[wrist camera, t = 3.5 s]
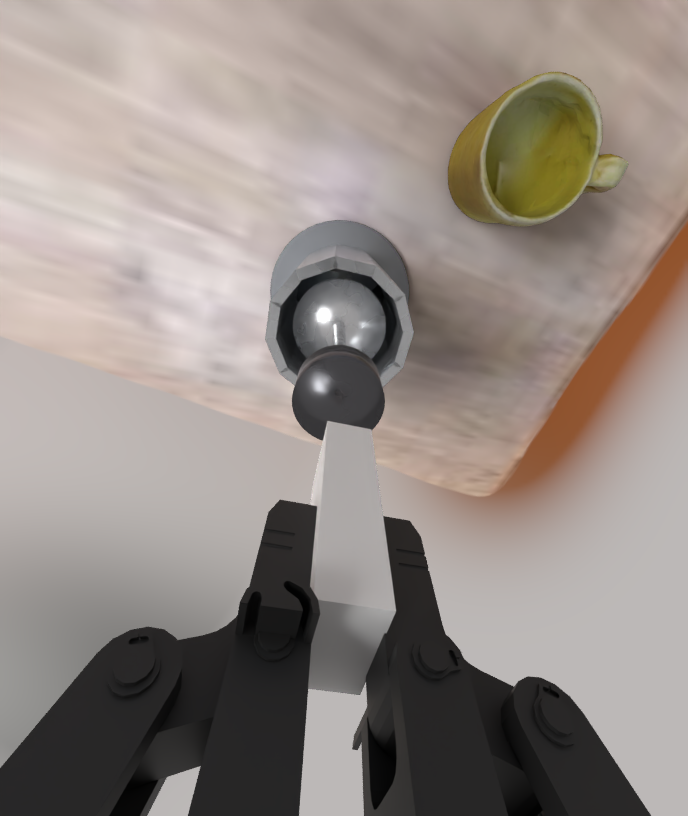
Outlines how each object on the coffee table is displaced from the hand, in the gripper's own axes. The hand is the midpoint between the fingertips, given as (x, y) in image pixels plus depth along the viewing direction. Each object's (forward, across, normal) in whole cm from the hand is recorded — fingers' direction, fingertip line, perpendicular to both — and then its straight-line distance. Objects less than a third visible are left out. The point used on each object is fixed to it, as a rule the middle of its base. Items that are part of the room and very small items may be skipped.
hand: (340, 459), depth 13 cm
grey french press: (+28, 0, -1) cm, 28 cm away
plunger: (+17, 0, 0) cm, 17 cm away
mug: (+29, +13, +14) cm, 35 cm away
